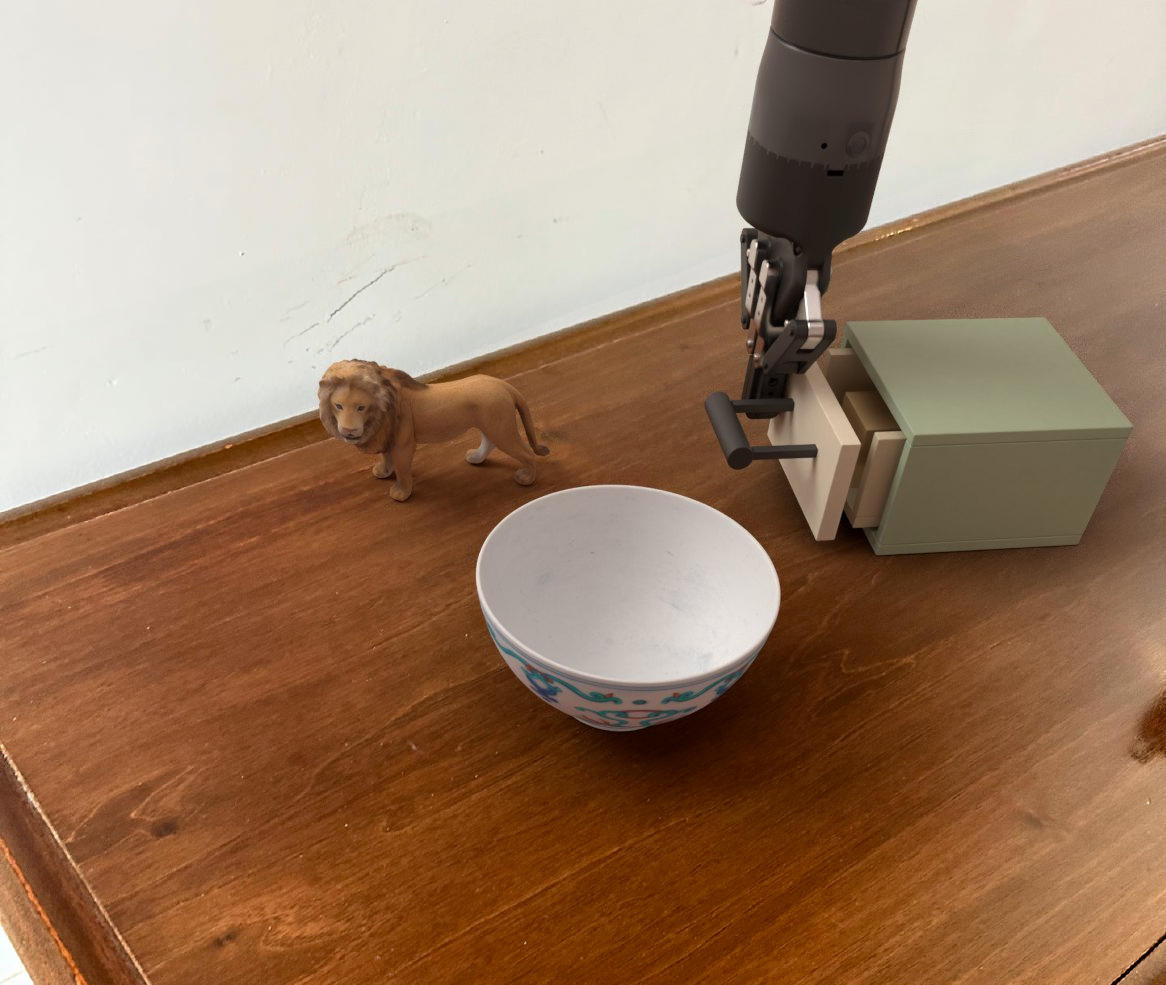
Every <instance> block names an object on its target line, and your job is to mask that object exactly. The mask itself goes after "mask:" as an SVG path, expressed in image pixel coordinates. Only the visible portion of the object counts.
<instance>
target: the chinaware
mask: <svg viewBox="0 0 1166 985" xmlns="http://www.w3.org/2000/svg"><path fill="white" fill-rule="evenodd" d="M475 584H476V590H477V596H478V600H479V604H480V607H481V611H482V615H483V618H484V621H485V624H486V626H487V629H488V631H489V634H490V636H491V638H492V640H493V642H494V645H495V646H496V648H497V650H498V653H499V654H500V655H501V657H502V658H503V660H504V662H505V663H506V664H507V666H508V667H509V669H510V670H511V671H512V672H513V674H514V675H515V676H516V677H517V678H518V679H519V680H520V682H521V683H522V684H523V685H524V686H525V687H526V688H527V689H529V690H530V691H531V692H532V693H533V694H535V696H537V697H538V698H539V699H541V700H542V701H543V702H545V703H547V704H548V705H550V706H551V707H552V708H555V709H557V710H558V711H560V712H562V713H564V714H566V715H568V716H571V717H573V718H574V719H576V720H577V721H579V722H581V723H583V724H585V725H587V726H590V727H593V728H596V729H599V730H602V731H603V730H604V731H610V732H630V731H636V730H641V729H645V728H647V727H651V726H657V725H662V724H666V723H670V722H673V721H676V720H679V719H681V718H684V717H686V716H689V715H691V714H693V713H695V712H698V711H699V710H700V709H703V708H705V707H706V706H708V705H709V704H710V703H713V702H714V701H716V700H717V699H718V698H719V697H721V696H722V695H723V694H724V693H726V692H727V691H728V690H729V689H730V688H731V687H732V686H733V685H734V684H735V683H736V682H737V681H738V680H739V679H740V678H741V677H742V676H743V674H745V673H746V671H747V670H748V669H749V668H750V666H751V665H752V663H753V662H754V661H755V659H756V658H757V657H758V655H759V653H760V652H761V650H762V649H763V647H764V645H765V644H766V642H767V641H768V638H769V636H770V634H771V633H772V631H773V629H774V626H775V624H776V621H777V618H778V615H779V612H780V607H781V597H782V596H781V585H780V584H781V583H780V579H779V575H778V573H777V570H776V568H775V565H774V563H773V561H772V559H771V557H770V556H769V553H768V552H767V551H766V550H765V549H764V547H763V546H762V544H761V543H760V542H759V541H758V540H757V539H756V538H755V537H754V536H753V535H752V534H751V533H750V532H749V531H748V530H747V529H746V528H744V527H743V526H742V525H741V524H739V523H738V522H737V521H735V520H734V519H732V518H731V517H730V516H728V515H726V514H725V513H723V512H722V511H720V510H718V509H716V508H713V507H712V506H710V505H708V504H705V503H703V502H701V501H698V500H697V499H696V500H695V499H693V498H690V497H688V496H685V495H682V494H679V493H675V492H670V491H667V490H663V489H657V488H653V487H647V486H638V485H626V484H597V485H588V486H587V485H585V486H578V487H573V488H568V489H564V490H563V489H562V490H559V491H556V492H552V493H549V494H546V495H544V496H540V497H538V498H536V499H533V500H530V501H529V502H527V503H525V504H523V505H521V506H519V507H518V508H517V509H515V510H513V511H512V512H510V513H509V514H508V515H507V516H505V517H504V518H503V519H502V520H501V521H500V522H499V523H498V524H496V526H494V528H493V529H492V530H491V531H490V533H489V534H488V535H487V537H486V539H485V540H484V542H483V544H482V546H481V549H480V550H479V554H478V557H477V560H476V568H475Z"/></svg>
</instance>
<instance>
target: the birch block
mask: <svg viewBox="0 0 1166 985" xmlns="http://www.w3.org/2000/svg"><path fill="white" fill-rule="evenodd" d="M842 410H843V412H844V413H845V415H846V417H847V419H848V421H849V423H850V424H851V426H852V428H853V430H854V432H855V434H856V435H857V437H858V439H859V441H860V443H861V447H860V451H859V454H858V458H857V461H856V465H855V468H854V472H853V475H852V479H851V483H850V488H859V485H860V481H861V478H862V474H863V471H864V467H865V464H866V460H867V457H868V454H869V450H870V447H871V443H872V440H873V436H874V433H875V432H890V431H902V430H901V428H900V427H899V425H898V423H897V422H896V420H895V418H894V417H893V415H892V413H891V411H890V410H889V408H888V406H887V405H886V403H885V401H884V400H883V398H882V396H881V395H880V393H879V391H863V392H846V393H845V396H844V400H843V404H842Z"/></svg>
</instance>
